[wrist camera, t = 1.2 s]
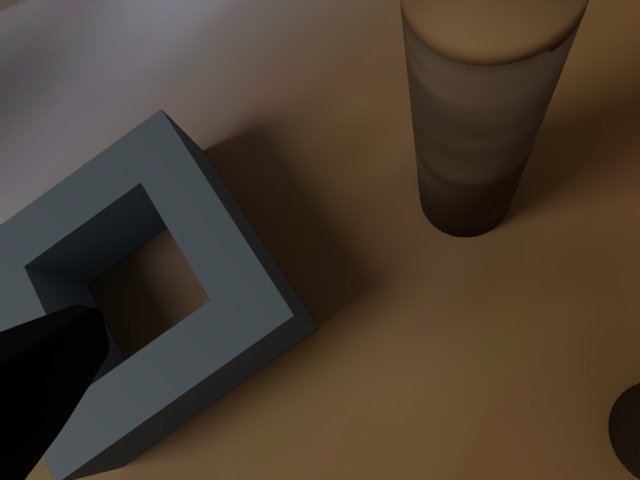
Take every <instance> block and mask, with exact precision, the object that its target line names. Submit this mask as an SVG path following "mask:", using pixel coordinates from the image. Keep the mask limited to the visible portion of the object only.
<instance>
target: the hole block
mask: <svg viewBox="0 0 640 480" xmlns="http://www.w3.org/2000/svg"><path fill="white" fill-rule="evenodd" d="M165 228H168V230H169V231H170V233H171V235H172V236H173V238H174V240H175V241H176V243H177V245H178V247H179V248H180V250H181V252H182V253H183V255H184V257H185V258H186V260H187V262H188V264H189V265H190V267H191V269H192V270H193V272H194V274H195V275H196V277H197V279H198V281H199V282H200V284H201V286H202V287H203V289H204V291H205V292H206V294H207V296H208V298H209V299H210V301H208V302H207V303H205V304H204V305H203V306H201V307H200V308H198V309H197V310H196V311H194V312H193V313H191V314H190V315H189V316H187V317H186V318H184V319H183V320H182V321H180V322H179V323H177V324H176V325H175V326H173V327H172V328H170V329H169V330H168V331H166V332H165V333H163V334H162V335H161V336H159V337H158V338H156V339H155V340H154V341H152V342H151V343H149V344H148V345H146V346H145V347H144V348H142V349H141V350H139V351H138V352H137V353H135V354H134V355H132V356H131V357H130V358H128V359H127V360H124V358H123V356H122V354H121V352H120V350H119V348H118V346H117V344H116V342H115V340H114V338H113V336H112V334H111V332H110V330H109V328H108V326H107V324H106V326H107V331H108V336H109V341H110V350H109V353H108V356H107V358H106V360H105V361H104V363H103V365H102V366H101V368H100V370H99V371H98V373H97V374H96V376H95V378H94V379H93V381H92V383H91V384H90V386H89V387H88V389H87V391H86V392H85V394H84V396H83V397H82V399H81V400H80V402H79V404H78V405H77V407H76V409H75V410H74V412H73V413H72V415H71V417H70V418H69V420H68V421H67V423H66V424H65V426H64V427H63V429H62V430H61V432H60V433H59V435H58V436H57V437H56V439H55V440H54V442H53V443H52V444H51V446H50V447H49V448H48V450H47V451H46V452H45V454H44V458H45V460H46V462H47V465H48V467H49V470H50V472H51V474H52V477H53V479H54V480H75V479H79V478H83V477H87V476H91V475H95V474H98V473H102V472H106V471H110V470H114V469H118V468H121V467H122V466H124V465H125V464H127V463H128V462H129V461H131V460H132V459H134V458H135V457H136V456H138V455H139V454H141V453H142V452H144V451H145V450H146V449H148V448H149V447H151V446H152V445H153V444H155V443H156V442H158V441H159V440H161V439H162V438H163V437H165V436H166V435H168V434H169V433H170V432H172V431H173V430H175V429H176V428H177V427H179V426H180V425H182V424H183V423H185V422H186V421H187V420H189V419H190V418H192V417H193V416H194V415H196V414H197V413H199V412H200V411H202V410H203V409H204V408H206V407H207V406H209V405H210V404H211V403H213V402H214V401H216V400H217V399H219V398H220V397H221V396H223V395H224V394H226V393H227V392H228V391H230V390H231V389H233V388H234V387H235V386H237V385H238V384H240V383H241V382H243V381H244V380H245V379H247V378H248V377H250V376H251V375H252V374H254V373H255V372H257V371H258V370H260V369H261V368H262V367H264V366H265V365H267V364H268V363H269V362H271V361H272V360H274V359H275V358H277V357H278V356H279V355H281V354H282V353H284V352H285V351H286V350H288V349H289V348H291V347H292V346H294V345H295V344H296V343H298V342H299V341H301V340H302V339H303V338H305V337H306V336H308V335H309V334H310V333H312V332H313V331H315V330H316V329H318V328H319V327H318V326H317V324H316V323H315V321H314V320H313V318H312V317H311V315H310V314H309V312H308V311H307V309H306V308H305V306H304V304H303V303H302V301H301V300H300V298H299V297H298V295H297V294H296V292H295V291H294V289H293V288H292V286H291V285H290V283H289V282H288V280H287V279H286V277H285V275H284V274H283V272H282V271H281V269H280V268H279V266H278V265H277V263H276V262H275V260H274V259H273V257H272V256H271V254H270V253H269V251H268V250H267V248H266V246H265V245H264V243H263V242H262V240H261V239H260V237H259V236H258V234H257V233H256V231H255V230H254V228H253V227H252V225H251V224H250V222H249V220H248V219H247V217H246V216H245V214H244V213H243V211H242V210H241V208H240V207H239V205H238V204H237V202H236V201H235V199H234V198H233V196H232V195H231V193H230V191H229V190H228V188H227V187H226V185H225V184H224V182H223V181H222V179H221V178H220V176H219V175H218V173H217V172H216V170H215V169H214V167H213V165H212V164H211V162H210V161H209V159H208V158H207V156H206V155H205V153H204V152H203V150H202V149H201V148H200V147H199V146H198V145H197V144H196V143H195V142H194V141H193V140H192V139H191V138H190V137H189V136H188V135H187V134H186V133H185V132H184V131H183V130H182V129H181V128H180V127H179V126H178V125H177V124H176V123H175V122H174V121H173V120H172V119H171V118H170V117H169V116H168V115H167V114H166V113H165V112H164V111H163V110H162V109H161V110H159V111H158V112H157V113H155V114H154V115H152V116H151V117H150V118H148V119H147V120H146V121H144V122H143V123H141V124H140V125H139V126H137V127H136V128H134V129H133V130H132V131H130V132H129V133H128V134H126V135H125V136H123V137H122V138H121V139H119V140H118V141H116V142H115V143H114V144H112V145H111V146H110V147H108V148H107V149H105V150H104V151H103V152H101V153H100V154H98V155H97V156H96V157H94V158H93V159H92V160H90V161H89V162H87V163H86V164H85V165H83V166H82V167H81V168H79V169H78V170H76V171H75V172H74V173H72V174H71V175H69V176H68V177H67V178H65V179H64V180H63V181H61V182H60V183H58V184H57V185H56V186H54V187H53V188H51V189H50V190H49V191H47V192H46V193H45V194H43V195H42V196H40V197H39V198H38V199H36V200H35V201H33V202H32V203H31V204H29V205H28V206H27V207H25V208H24V209H22V210H21V211H20V212H18V213H17V214H15V215H14V216H13V217H11V218H10V219H9V220H7V221H6V222H4V223H3V224H2V225H0V332H1V331H3V330H6V329H9V328H12V327H14V326H17V325H20V324H22V323H25V322H28V321H31V320H33V319H36V318H39V317H42V316H44V315H47V314H50V313H53V312H55V311H58V310H61V309H64V308H66V307H69V306H72V305H75V304H79V303H80V304H86V305H91V306H95V307H98V306H97V304H96V302H95V300H94V298H93V296H92V294H91V292H90V290H89V288H88V286H87V284H88V283H90V282H91V281H93V280H94V279H95V278H97V277H98V276H100V275H101V274H102V273H104V272H105V271H107V270H108V269H109V268H111V267H112V266H114V265H115V264H116V263H118V262H119V261H121V260H122V259H123V258H125V257H126V256H128V255H129V254H130V253H132V252H133V251H134V250H136V249H137V248H139V247H140V246H141V245H143V244H144V243H146V242H147V241H148V240H150V239H151V238H153V237H154V236H155V235H157V234H158V233H160V232H161V231H162V230H164V229H165Z"/></svg>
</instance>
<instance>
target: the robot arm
mask: <svg viewBox="0 0 640 480" xmlns="http://www.w3.org/2000/svg"><path fill="white" fill-rule="evenodd" d="M109 350H110V341H109V336H108V331H107V326H106V322H105V317H104V313H103V312H102V310H101V309H100V308H98V307H95V306H91V305H86V304H80V303H79V304H75V305H72V306H69V307H66V308H64V309H61V310H58V311H55V312H53V313H50V314H47V315H44V316H42V317H39V318H36V319H33V320H31V321H28V322H25V323H22V324H20V325H17V326H14V327H12V328H9V329H6V330H3V331H1V332H0V480H25V479H26V477H27V476H28V475H29V473H30V472H31V471H32V469H33V468H34V467H35V465H36V464H37V463H38V461H39V460H40V459H41V458H42V456H43V455H44V454H45V452H46V451H47V450H48V448H49V447H50V446H51V444H52V443H53V442H54V440H55V439H56V437H57V436H58V435H59V433H60V432H61V430H62V429H63V427H64V426H65V424H66V423H67V421H68V420H69V418H70V417H71V415H72V413H73V412H74V410H75V409H76V407H77V405H78V404H79V402H80V400H81V399H82V397H83V396H84V394H85V392H86V391H87V389H88V387H89V386H90V384H91V383H92V381H93V379H94V378H95V376H96V374H97V373H98V371H99V370H100V368H101V366H102V365H103V363H104V361H105V360H106V358H107V356H108V353H109Z"/></svg>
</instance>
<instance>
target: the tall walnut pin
mask: <svg viewBox="0 0 640 480" xmlns="http://www.w3.org/2000/svg"><path fill="white" fill-rule="evenodd" d="M588 2H589V0H400V4H401V14H402V24H403V34H404V44H405V54H406V64H407V73H408V83H409V93H410V103H411V113H412V123H413V133H414V143H415V152H416V162H417V172H418V182H419V192H420V201H421V206H422V209H423V212H424V214H425V216H426V217H427V219H428V220H429V221H430V222H431V223H432V225H434V226H435V227H436V228H437V229H439V230H440V231H442V232H444V233H446V234H449V235H452V236H456V237H475V236H479V235H482V234H484V233H487V232H489V231H490V230H492V229H493V228H495V227H496V226H497V225H498V224H499V223H500V222H501V221H502V220H503V218H504V217H505V215H506V213H507V212H508V209H509V207H510V204H511V201H512V199H513V196H514V194H515V191H516V188H517V186H518V183H519V181H520V178H521V175H522V173H523V170H524V168H525V165H526V163H527V160H528V157H529V155H530V152H531V150H532V147H533V144H534V142H535V139H536V137H537V134H538V132H539V129H540V126H541V124H542V121H543V119H544V116H545V113H546V111H547V108H548V106H549V103H550V100H551V98H552V95H553V93H554V90H555V88H556V85H557V82H558V80H559V77H560V75H561V72H562V69H563V67H564V64H565V62H566V59H567V56H568V54H569V51H570V49H571V46H572V44H573V41H574V38H575V36H576V33H577V31H578V28H579V25H580V23H581V20H582V18H583V15H584V13H585V10H586V7H587V5H588Z"/></svg>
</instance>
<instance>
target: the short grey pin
mask: <svg viewBox="0 0 640 480" xmlns="http://www.w3.org/2000/svg"><path fill="white" fill-rule="evenodd" d="M609 437H610V441H611V444H612V447H613V449H614V452H615V453H616V455H617V457H618V459H619V460H620V461H621V463H622V464H623V465H624V466H625V468H626V469H627V470H628V471H629V472H630V473H632V474H633V475H634V476H635V477H637V478H638V479H640V383H638V384H636V385H634V386H632V387H630V388H628V389H627V390H626V391H624V392H623V393H622V394H621V395H620V396H619V397H618V399H617V400H616V402H615V403H614V405H613V407H612V410H611V413H610V417H609Z"/></svg>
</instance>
